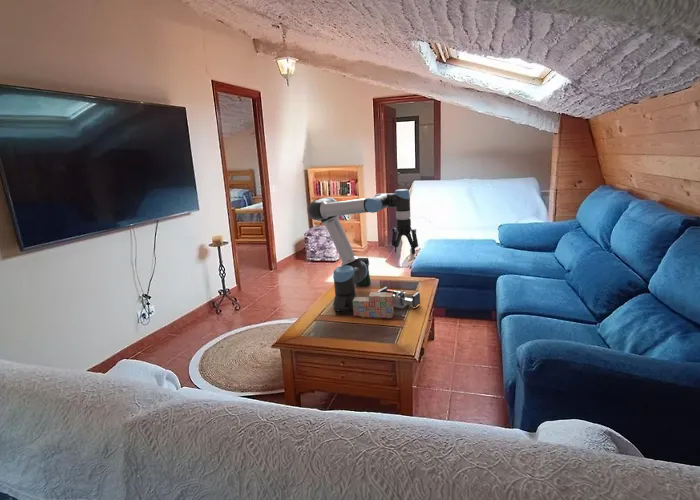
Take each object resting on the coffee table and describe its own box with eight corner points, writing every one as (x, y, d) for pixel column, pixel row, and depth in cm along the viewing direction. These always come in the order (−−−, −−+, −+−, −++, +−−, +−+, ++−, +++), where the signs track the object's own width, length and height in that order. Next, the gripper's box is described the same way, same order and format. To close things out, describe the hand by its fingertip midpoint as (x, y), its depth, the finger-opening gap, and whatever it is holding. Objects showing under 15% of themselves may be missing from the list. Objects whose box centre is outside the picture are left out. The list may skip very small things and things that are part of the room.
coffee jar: (371, 283, 273) (370, 256, 269) (368, 287, 266) (366, 259, 261) (358, 282, 276) (356, 256, 272) (354, 286, 269) (352, 259, 264)
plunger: (413, 310, 223) (413, 297, 221) (389, 305, 232) (388, 292, 231) (421, 304, 230) (420, 291, 228) (397, 299, 239) (396, 287, 238)
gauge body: (403, 308, 227) (402, 296, 225) (377, 303, 237) (377, 291, 235) (411, 303, 234) (410, 290, 232) (385, 298, 244) (385, 286, 242)
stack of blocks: (353, 317, 222) (351, 295, 219) (356, 312, 228) (354, 291, 224) (392, 318, 216) (391, 296, 213) (394, 313, 222) (393, 292, 219)
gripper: (424, 217, 216) (425, 259, 222) (390, 216, 229) (392, 255, 234) (417, 220, 210) (419, 262, 216) (383, 218, 223) (385, 258, 228)
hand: (405, 258), depth 225 cm, fingers open, 8 cm apart
